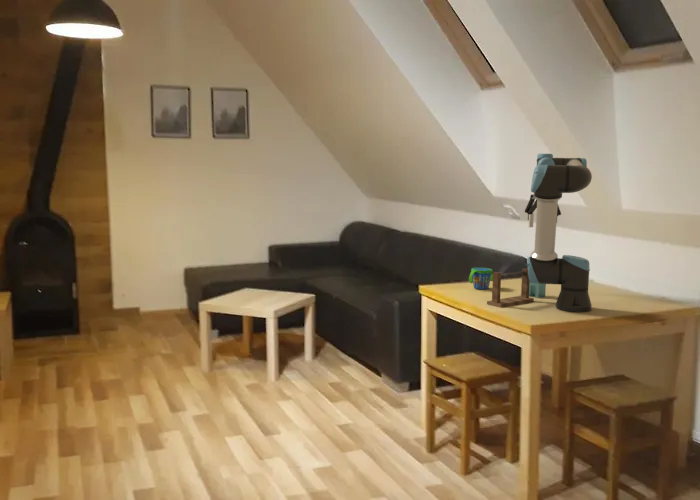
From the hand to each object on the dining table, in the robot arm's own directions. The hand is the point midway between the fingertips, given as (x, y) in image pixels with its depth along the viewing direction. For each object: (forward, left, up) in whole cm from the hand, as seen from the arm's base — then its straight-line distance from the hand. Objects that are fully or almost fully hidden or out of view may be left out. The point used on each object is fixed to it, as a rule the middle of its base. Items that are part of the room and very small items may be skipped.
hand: (541, 228), depth 359 cm
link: (-7, +11, -32) cm, 34 cm away
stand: (-11, +34, -32) cm, 48 cm away
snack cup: (+22, +18, -32) cm, 43 cm away
